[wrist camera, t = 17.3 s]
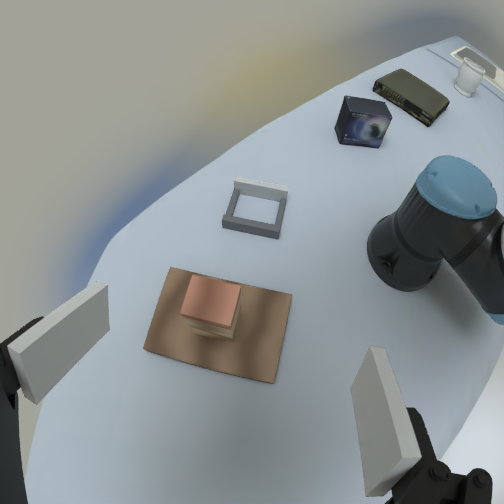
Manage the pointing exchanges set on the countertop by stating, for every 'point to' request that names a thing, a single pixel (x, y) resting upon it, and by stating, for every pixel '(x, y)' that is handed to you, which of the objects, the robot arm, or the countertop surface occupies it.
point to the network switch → (412, 95)
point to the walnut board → (217, 351)
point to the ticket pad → (212, 308)
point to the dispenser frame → (262, 191)
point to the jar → (469, 77)
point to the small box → (362, 122)
